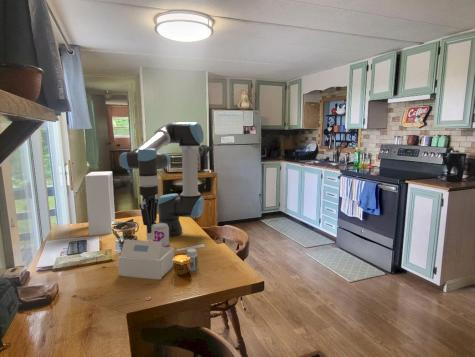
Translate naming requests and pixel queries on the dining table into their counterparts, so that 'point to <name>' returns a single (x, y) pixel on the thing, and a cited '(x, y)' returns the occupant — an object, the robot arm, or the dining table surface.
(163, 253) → the carton
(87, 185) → the box
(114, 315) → the dining table surface
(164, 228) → the supplement can
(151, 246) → the flap
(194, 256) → the pill bottle
